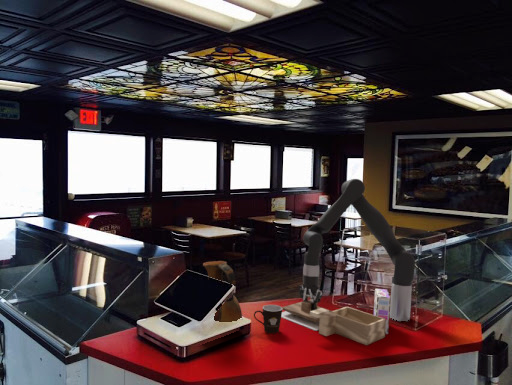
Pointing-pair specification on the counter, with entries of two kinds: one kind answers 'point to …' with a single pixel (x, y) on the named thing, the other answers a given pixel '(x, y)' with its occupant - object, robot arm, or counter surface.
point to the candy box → (382, 305)
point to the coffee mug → (271, 318)
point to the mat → (300, 321)
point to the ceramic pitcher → (230, 307)
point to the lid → (302, 310)
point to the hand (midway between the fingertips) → (309, 309)
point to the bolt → (319, 312)
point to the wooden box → (353, 325)
